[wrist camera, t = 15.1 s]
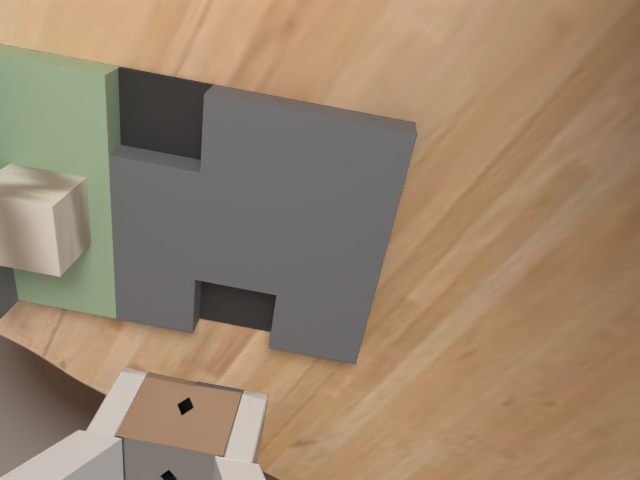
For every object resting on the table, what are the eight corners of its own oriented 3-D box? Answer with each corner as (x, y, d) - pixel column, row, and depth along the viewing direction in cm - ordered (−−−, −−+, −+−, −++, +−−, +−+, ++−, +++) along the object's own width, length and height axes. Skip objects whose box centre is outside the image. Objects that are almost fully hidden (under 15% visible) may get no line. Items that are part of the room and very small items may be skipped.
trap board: (415, 122, 39) (420, 152, 34) (356, 345, 51) (354, 393, 46) (-15, 41, 39) (-74, 59, 34) (23, 282, 51) (-17, 322, 46)
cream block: (86, 177, 41) (52, 206, 37) (91, 242, 45) (60, 276, 40) (10, 163, 42) (-33, 191, 37) (20, 229, 45) (-18, 262, 40)
